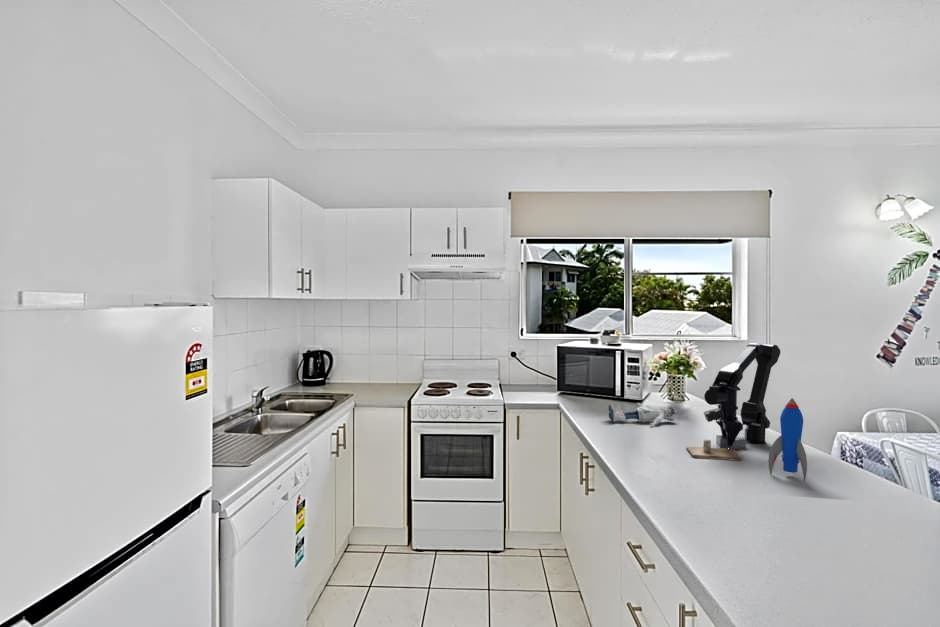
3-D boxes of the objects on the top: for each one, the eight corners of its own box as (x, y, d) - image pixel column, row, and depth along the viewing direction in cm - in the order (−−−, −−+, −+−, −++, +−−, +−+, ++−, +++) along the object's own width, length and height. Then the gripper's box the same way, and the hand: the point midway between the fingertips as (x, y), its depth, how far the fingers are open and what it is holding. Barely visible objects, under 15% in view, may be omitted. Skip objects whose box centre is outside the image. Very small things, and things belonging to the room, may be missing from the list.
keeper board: (732, 451, 215) (732, 438, 215) (740, 460, 203) (741, 446, 203) (686, 448, 218) (686, 435, 218) (692, 457, 206) (692, 443, 206)
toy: (604, 396, 275) (669, 392, 274) (605, 412, 277) (668, 408, 276) (615, 418, 253) (685, 414, 252) (615, 435, 256) (684, 431, 254)
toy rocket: (807, 482, 180) (809, 401, 179) (773, 479, 181) (775, 400, 181) (795, 472, 190) (797, 395, 189) (763, 469, 192) (765, 394, 191)
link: (742, 445, 224) (742, 436, 224) (747, 450, 217) (747, 440, 217) (716, 444, 226) (716, 435, 226) (720, 448, 219) (720, 439, 219)
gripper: (700, 397, 232) (700, 436, 232) (711, 406, 214) (710, 448, 214) (730, 398, 230) (729, 438, 230) (743, 407, 212) (742, 450, 212)
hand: (727, 443), depth 222 cm, fingers open, 7 cm apart
